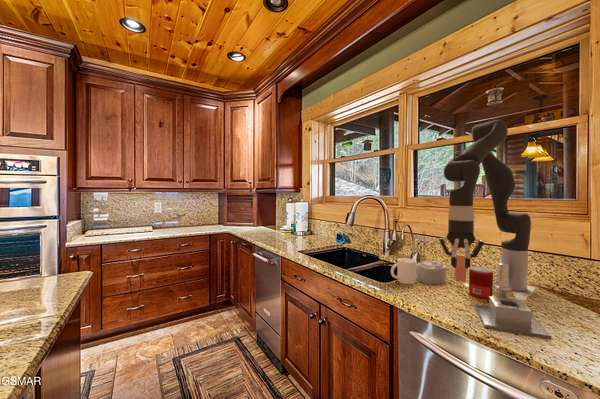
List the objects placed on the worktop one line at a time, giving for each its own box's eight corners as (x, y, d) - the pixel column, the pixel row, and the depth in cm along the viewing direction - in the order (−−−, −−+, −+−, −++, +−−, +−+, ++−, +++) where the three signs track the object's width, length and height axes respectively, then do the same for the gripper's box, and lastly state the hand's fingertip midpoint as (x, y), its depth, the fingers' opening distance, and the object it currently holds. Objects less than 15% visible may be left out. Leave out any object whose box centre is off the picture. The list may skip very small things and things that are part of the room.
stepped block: (454, 278, 94) (455, 253, 94) (464, 279, 93) (464, 254, 93) (455, 281, 92) (456, 255, 91) (465, 282, 90) (466, 256, 90)
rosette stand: (474, 304, 100) (474, 259, 99) (527, 312, 93) (528, 264, 92) (484, 327, 83) (485, 274, 82) (551, 339, 76) (552, 281, 76)
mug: (394, 285, 120) (394, 263, 120) (386, 279, 128) (387, 258, 128) (419, 284, 121) (420, 262, 121) (410, 278, 129) (410, 257, 129)
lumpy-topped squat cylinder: (413, 277, 131) (413, 260, 130) (435, 275, 134) (436, 258, 133) (428, 285, 120) (429, 266, 120) (452, 282, 124) (452, 264, 123)
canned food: (496, 299, 104) (496, 272, 104) (473, 298, 105) (474, 271, 105) (486, 292, 111) (487, 266, 111) (465, 291, 113) (466, 265, 113)
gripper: (482, 218, 92) (482, 267, 93) (437, 216, 98) (437, 263, 98) (487, 220, 85) (486, 273, 86) (438, 219, 91) (438, 268, 92)
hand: (460, 267), depth 92 cm, fingers closed on stepped block, 3 cm apart
